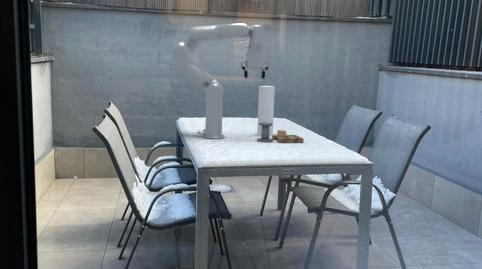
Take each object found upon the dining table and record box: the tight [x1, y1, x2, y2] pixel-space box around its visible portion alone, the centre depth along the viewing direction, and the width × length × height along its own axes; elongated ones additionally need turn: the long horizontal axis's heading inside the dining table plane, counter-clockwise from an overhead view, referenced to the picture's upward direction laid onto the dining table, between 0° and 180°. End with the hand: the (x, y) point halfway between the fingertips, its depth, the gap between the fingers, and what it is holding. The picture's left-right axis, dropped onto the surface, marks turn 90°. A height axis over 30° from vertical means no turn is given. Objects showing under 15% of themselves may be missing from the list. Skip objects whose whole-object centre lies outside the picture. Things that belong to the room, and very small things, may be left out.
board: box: [271, 134, 305, 144], centre depth 257 cm, size 14×14×2 cm
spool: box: [256, 122, 274, 143], centre depth 254 cm, size 9×9×10 cm
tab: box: [276, 129, 287, 137], centre depth 256 cm, size 4×4×6 cm
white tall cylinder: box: [256, 85, 276, 137], centre depth 275 cm, size 9×9×30 cm
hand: (254, 78), depth 258 cm, fingers open, 9 cm apart
